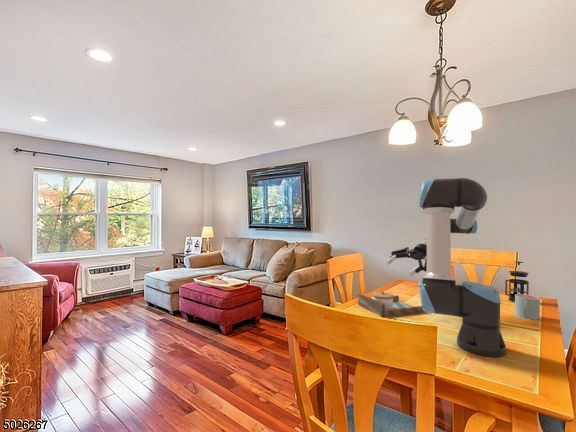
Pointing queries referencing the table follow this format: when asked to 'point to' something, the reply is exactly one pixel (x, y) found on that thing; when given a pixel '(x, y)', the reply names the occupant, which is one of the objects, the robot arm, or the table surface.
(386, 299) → the lidded jar
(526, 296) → the mug
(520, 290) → the french press
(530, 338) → the table surface
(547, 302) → the table surface
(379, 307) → the bay
